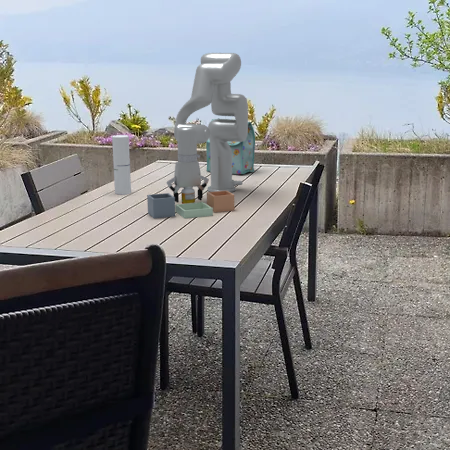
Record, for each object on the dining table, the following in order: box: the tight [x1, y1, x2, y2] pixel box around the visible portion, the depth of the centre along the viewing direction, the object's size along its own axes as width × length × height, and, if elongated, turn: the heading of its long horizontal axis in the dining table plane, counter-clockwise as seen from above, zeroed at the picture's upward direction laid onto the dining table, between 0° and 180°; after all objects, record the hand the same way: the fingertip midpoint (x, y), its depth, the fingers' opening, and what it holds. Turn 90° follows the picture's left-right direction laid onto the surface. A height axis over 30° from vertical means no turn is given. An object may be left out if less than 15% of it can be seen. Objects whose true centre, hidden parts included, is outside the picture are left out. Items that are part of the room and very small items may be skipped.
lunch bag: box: [205, 118, 256, 175], centre depth 342 cm, size 23×16×27 cm
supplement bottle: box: [180, 187, 196, 204], centre depth 270 cm, size 5×5×10 cm
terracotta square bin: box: [206, 191, 235, 213], centre depth 264 cm, size 8×8×7 cm
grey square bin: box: [146, 192, 176, 219], centre depth 256 cm, size 8×8×8 cm
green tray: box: [175, 201, 214, 219], centre depth 258 cm, size 11×11×4 cm
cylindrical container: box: [111, 134, 132, 195], centre depth 296 cm, size 7×7×25 cm
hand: (188, 200), depth 270 cm, fingers open, 9 cm apart
